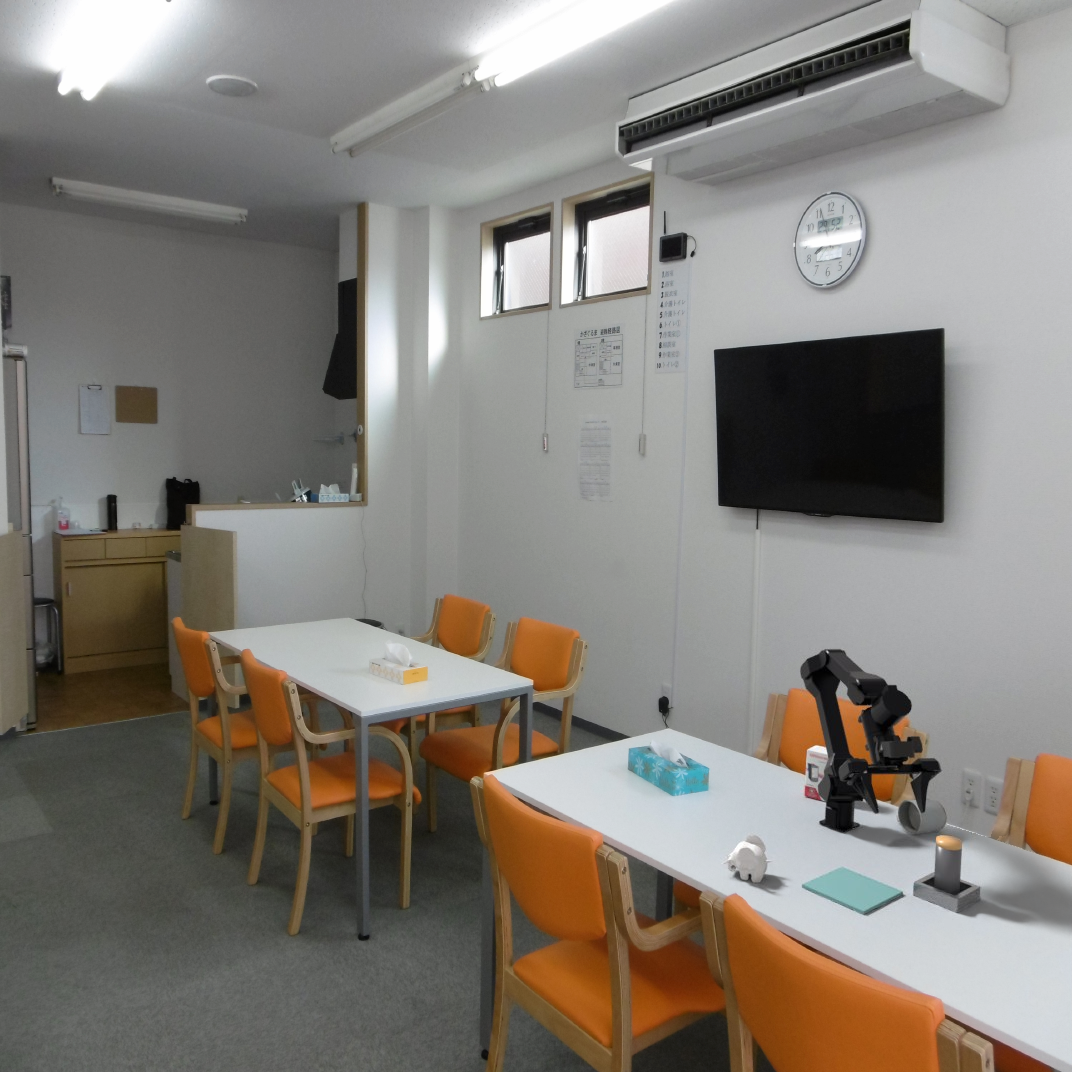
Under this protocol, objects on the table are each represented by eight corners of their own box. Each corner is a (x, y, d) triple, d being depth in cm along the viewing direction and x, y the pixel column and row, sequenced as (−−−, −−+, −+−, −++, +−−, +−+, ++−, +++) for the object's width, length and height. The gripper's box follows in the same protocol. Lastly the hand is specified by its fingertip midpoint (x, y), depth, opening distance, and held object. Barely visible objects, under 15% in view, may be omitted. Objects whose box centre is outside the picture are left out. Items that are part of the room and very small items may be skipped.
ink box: (803, 796, 220) (805, 749, 219) (811, 791, 224) (813, 744, 223) (838, 805, 215) (840, 756, 214) (846, 800, 218) (848, 752, 218)
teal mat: (841, 869, 180) (841, 866, 180) (902, 894, 170) (902, 891, 170) (801, 887, 172) (802, 884, 172) (863, 914, 162) (863, 911, 162)
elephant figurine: (727, 863, 182) (728, 828, 182) (775, 873, 178) (776, 837, 178) (717, 878, 175) (718, 842, 175) (767, 889, 171) (769, 852, 171)
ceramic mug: (948, 835, 198) (950, 802, 197) (920, 840, 195) (921, 806, 195) (914, 819, 207) (915, 787, 207) (886, 823, 205) (887, 791, 204)
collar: (936, 883, 175) (936, 870, 174) (979, 899, 168) (980, 886, 168) (913, 895, 170) (913, 882, 169) (956, 912, 163) (957, 899, 163)
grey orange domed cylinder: (940, 889, 172) (943, 833, 171) (963, 898, 168) (966, 841, 168) (928, 896, 169) (931, 839, 168) (951, 905, 166) (954, 847, 165)
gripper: (849, 720, 176) (868, 800, 167) (942, 720, 177) (966, 799, 169) (830, 741, 185) (847, 818, 177) (918, 741, 187) (939, 817, 178)
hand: (900, 812), depth 175 cm, fingers open, 9 cm apart
